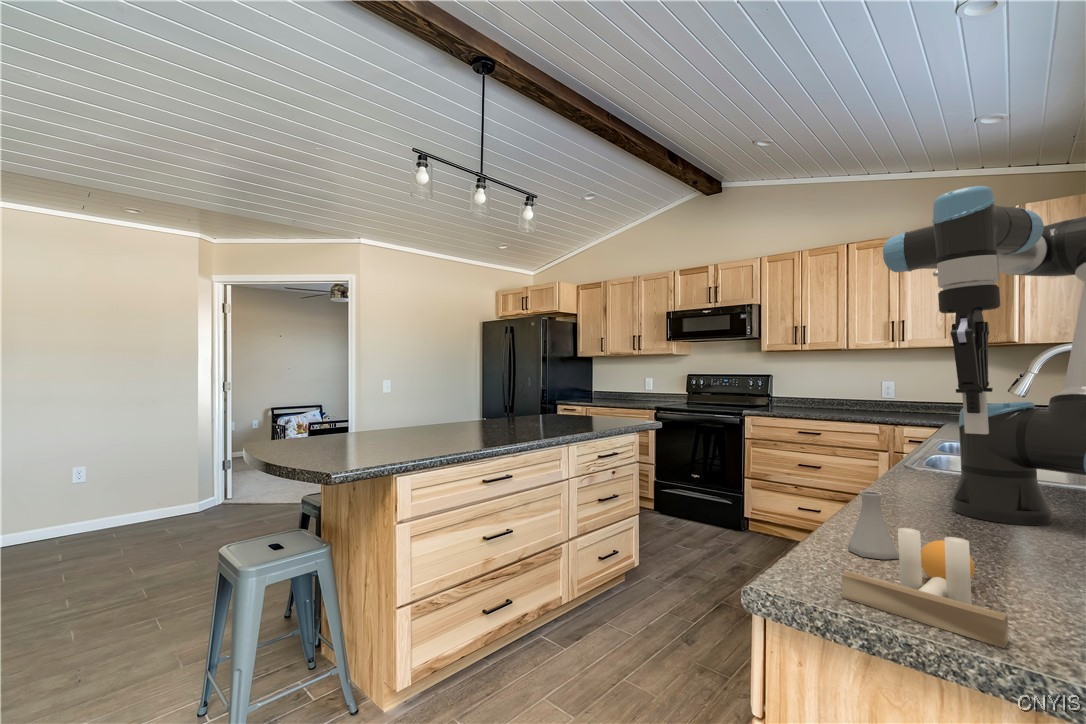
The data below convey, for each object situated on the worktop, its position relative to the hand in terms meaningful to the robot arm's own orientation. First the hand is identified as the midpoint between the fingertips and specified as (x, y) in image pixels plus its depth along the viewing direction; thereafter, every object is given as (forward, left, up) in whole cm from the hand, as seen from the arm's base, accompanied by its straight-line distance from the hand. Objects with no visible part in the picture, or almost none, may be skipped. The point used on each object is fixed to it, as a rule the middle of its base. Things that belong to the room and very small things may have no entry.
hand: (976, 433), depth 80 cm
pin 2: (+24, +2, -20) cm, 31 cm away
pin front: (+21, 0, -19) cm, 28 cm away
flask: (+10, -12, -20) cm, 25 cm away
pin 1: (+24, -3, -20) cm, 31 cm away
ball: (+16, -1, -17) cm, 24 cm away
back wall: (+31, 0, -20) cm, 37 cm away
